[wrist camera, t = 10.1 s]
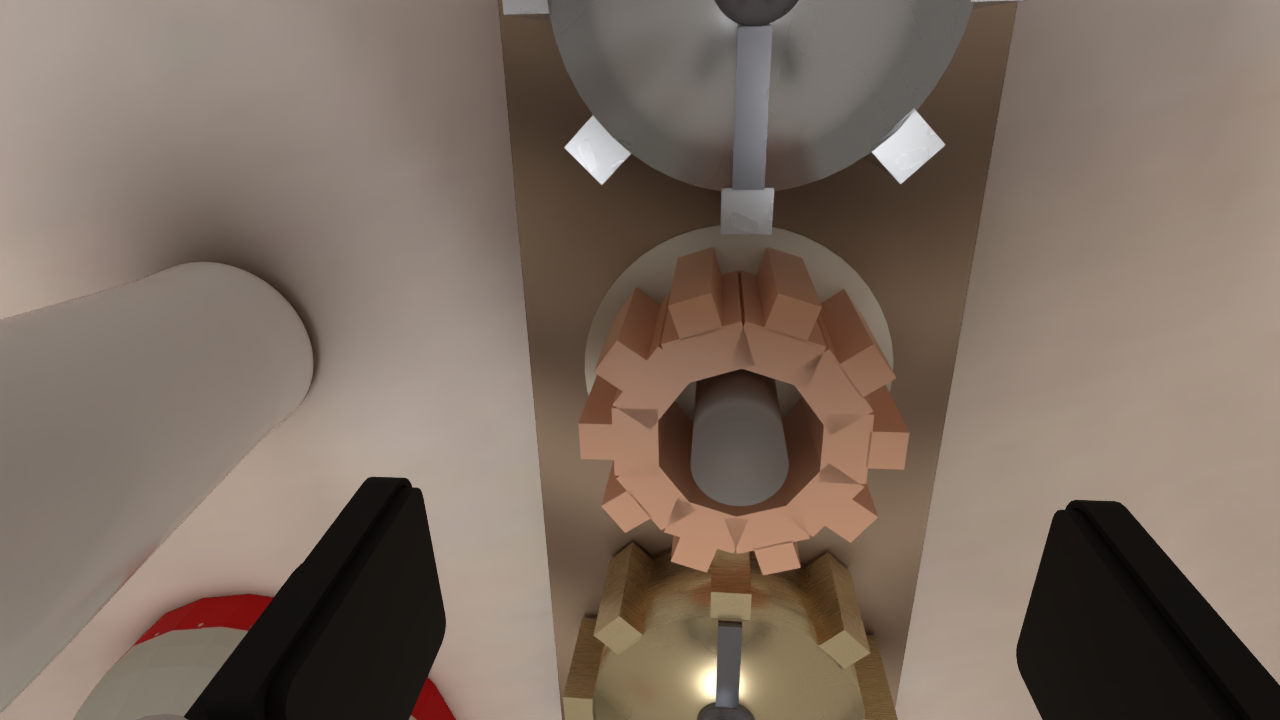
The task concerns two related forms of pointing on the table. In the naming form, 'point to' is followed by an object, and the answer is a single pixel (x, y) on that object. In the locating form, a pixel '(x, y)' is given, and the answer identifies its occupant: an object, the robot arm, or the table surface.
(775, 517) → the idler gear
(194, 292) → the drinking glass
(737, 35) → the gear
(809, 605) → the gear
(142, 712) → the kitchen timer
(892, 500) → the gear board
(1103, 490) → the table surface
